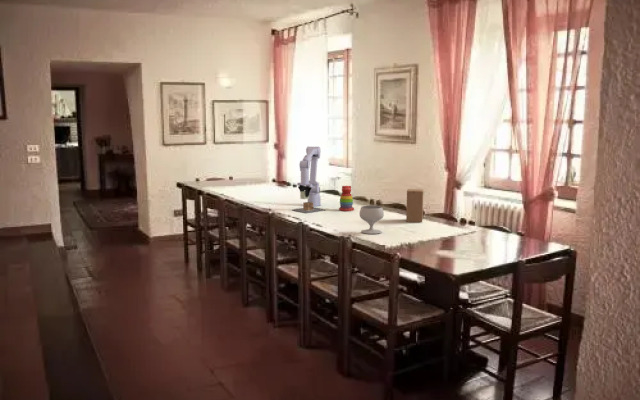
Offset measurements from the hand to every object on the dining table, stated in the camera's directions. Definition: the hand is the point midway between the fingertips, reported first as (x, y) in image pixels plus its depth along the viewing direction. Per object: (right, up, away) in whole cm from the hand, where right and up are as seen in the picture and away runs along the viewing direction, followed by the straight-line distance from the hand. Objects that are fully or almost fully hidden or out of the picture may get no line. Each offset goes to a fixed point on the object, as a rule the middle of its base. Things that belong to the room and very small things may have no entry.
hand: (304, 196), depth 400 cm
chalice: (+41, -22, -74) cm, 87 cm away
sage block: (0, -2, 0) cm, 2 cm away
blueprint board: (+3, -10, 0) cm, 10 cm away
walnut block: (+2, -9, 0) cm, 10 cm away
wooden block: (+71, -16, -39) cm, 83 cm away
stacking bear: (+29, -10, +1) cm, 31 cm away
